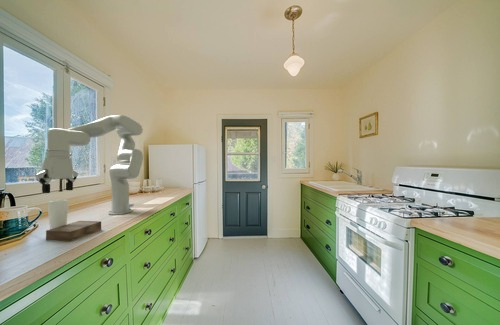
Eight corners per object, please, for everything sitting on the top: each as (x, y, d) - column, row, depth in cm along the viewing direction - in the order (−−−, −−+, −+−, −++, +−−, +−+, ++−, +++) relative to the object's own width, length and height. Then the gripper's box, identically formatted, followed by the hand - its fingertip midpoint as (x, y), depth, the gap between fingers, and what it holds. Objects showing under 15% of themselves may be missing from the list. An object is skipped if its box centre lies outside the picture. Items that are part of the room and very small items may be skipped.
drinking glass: (55, 235, 86) (55, 202, 86) (43, 234, 88) (43, 201, 88) (72, 230, 93) (72, 199, 93) (61, 229, 94) (61, 198, 94)
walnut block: (79, 228, 95) (79, 220, 95) (101, 229, 93) (101, 221, 93) (46, 240, 81) (46, 230, 81) (70, 241, 80) (70, 231, 80)
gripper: (71, 156, 100) (70, 189, 99) (28, 154, 83) (28, 194, 82) (84, 156, 99) (83, 189, 98) (43, 153, 82) (43, 194, 81)
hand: (58, 191), depth 90 cm, fingers open, 9 cm apart
